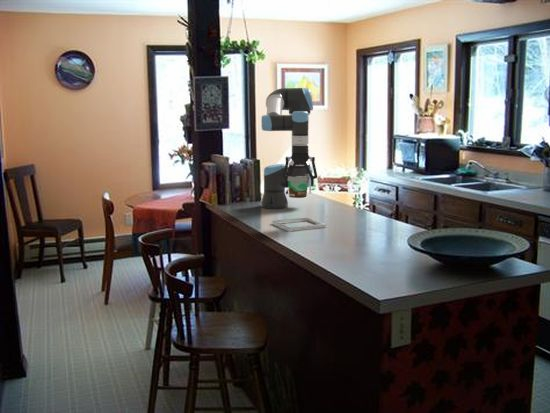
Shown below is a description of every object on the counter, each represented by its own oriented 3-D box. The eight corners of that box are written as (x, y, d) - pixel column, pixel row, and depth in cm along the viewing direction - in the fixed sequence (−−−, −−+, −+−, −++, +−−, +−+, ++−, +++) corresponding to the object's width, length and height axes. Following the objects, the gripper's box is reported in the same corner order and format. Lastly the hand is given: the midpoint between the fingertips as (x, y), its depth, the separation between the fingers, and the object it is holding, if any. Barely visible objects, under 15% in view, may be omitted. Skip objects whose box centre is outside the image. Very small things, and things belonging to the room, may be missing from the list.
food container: (296, 199, 277) (296, 178, 275) (286, 197, 281) (287, 176, 279) (314, 196, 285) (315, 175, 283) (305, 194, 289) (306, 173, 287)
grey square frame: (271, 224, 289) (271, 220, 289) (308, 220, 297) (308, 217, 297) (288, 231, 273) (288, 228, 273) (326, 227, 281) (326, 224, 281)
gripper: (276, 145, 276) (276, 194, 280) (323, 145, 274) (322, 194, 278) (277, 144, 284) (277, 191, 288) (323, 144, 282) (323, 192, 286)
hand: (300, 192), depth 283 cm, fingers closed on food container, 9 cm apart
